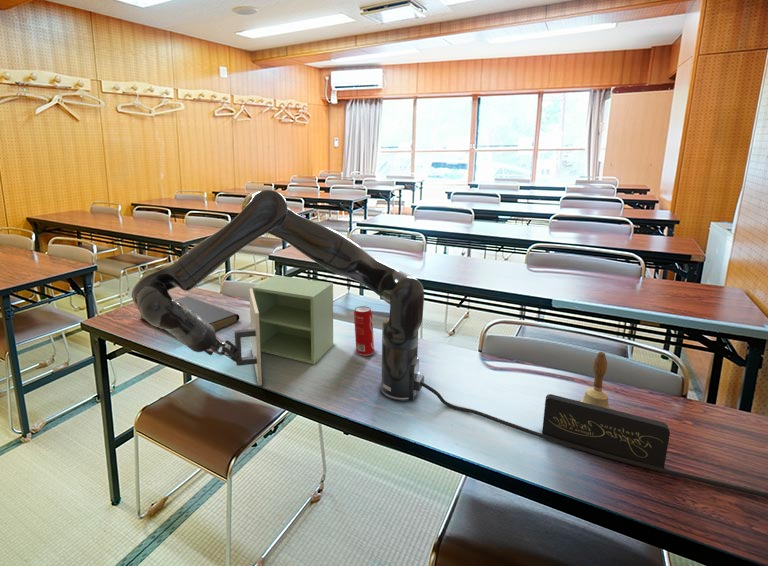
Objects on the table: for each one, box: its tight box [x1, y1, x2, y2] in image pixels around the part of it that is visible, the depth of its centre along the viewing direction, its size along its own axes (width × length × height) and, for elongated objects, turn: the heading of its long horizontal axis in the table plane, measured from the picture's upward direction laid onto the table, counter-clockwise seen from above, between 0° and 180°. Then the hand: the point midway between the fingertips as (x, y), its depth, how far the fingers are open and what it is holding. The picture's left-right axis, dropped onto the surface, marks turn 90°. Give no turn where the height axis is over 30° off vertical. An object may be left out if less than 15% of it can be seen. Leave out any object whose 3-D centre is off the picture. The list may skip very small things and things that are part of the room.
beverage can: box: [353, 305, 375, 357], centre depth 138 cm, size 6×6×15 cm
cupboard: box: [251, 274, 334, 365], centre depth 141 cm, size 15×22×22 cm
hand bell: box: [579, 351, 611, 409], centre depth 103 cm, size 8×8×16 cm
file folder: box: [140, 296, 240, 332], centre depth 169 cm, size 33×4×24 cm
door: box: [234, 287, 263, 387], centre depth 129 cm, size 7×22×22 cm, turn 9°
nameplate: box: [541, 393, 671, 473], centre depth 91 cm, size 21×2×10 cm, turn 56°
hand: (224, 354), depth 116 cm, fingers open, 8 cm apart
